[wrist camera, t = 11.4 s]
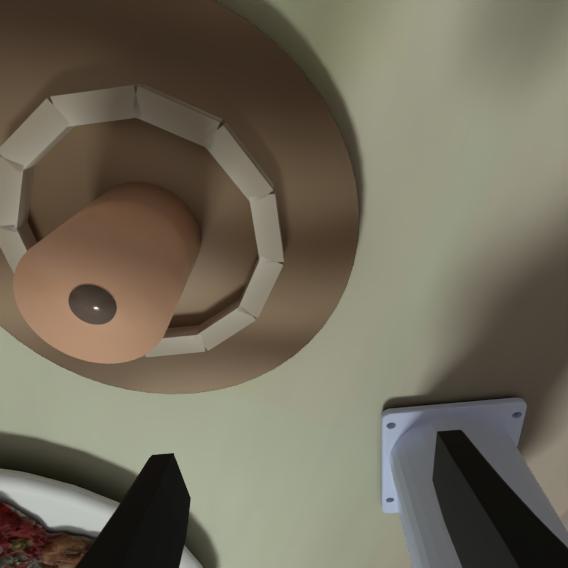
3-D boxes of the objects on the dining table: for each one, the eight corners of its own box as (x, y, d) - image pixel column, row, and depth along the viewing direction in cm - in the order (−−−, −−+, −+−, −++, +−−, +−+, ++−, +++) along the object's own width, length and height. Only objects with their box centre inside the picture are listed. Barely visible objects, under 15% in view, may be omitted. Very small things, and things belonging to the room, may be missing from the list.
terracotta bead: (211, 277, 18) (185, 357, 13) (111, 288, 18) (49, 371, 13) (186, 174, 16) (144, 225, 11) (73, 188, 16) (-17, 244, 11)
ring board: (361, 367, 22) (366, 388, 20) (40, 397, 23) (24, 419, 21) (347, -63, 13) (355, -78, 11) (-175, 17, 14) (-226, 12, 12)
